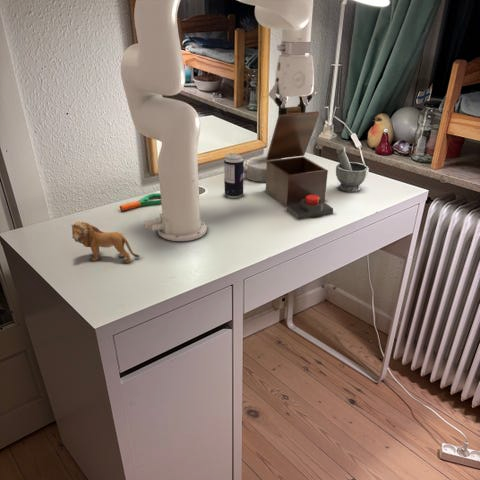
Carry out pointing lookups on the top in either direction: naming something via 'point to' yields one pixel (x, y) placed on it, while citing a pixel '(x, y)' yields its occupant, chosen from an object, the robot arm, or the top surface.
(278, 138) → the wooden box lid
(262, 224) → the top surface
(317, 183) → the brown open box
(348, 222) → the top surface
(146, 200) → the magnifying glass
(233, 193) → the beverage can
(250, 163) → the dish
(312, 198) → the button
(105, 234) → the lion figurine
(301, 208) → the control block
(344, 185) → the mortar and pestle
